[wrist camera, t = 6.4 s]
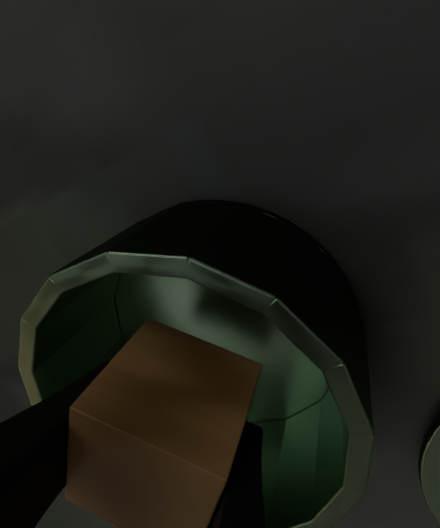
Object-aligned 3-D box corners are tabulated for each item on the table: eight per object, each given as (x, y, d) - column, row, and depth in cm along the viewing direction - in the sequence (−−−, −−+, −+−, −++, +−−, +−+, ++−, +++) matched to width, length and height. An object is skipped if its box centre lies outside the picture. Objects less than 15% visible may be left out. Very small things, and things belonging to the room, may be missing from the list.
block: (263, 363, 11) (227, 481, 8) (232, 442, 13) (191, 566, 10) (148, 317, 12) (68, 407, 8) (134, 398, 14) (64, 499, 10)
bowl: (428, 352, 13) (474, 489, 9) (232, 454, 19) (194, 572, 14) (210, 133, 12) (130, 154, 8) (71, 307, 18) (-24, 381, 13)
